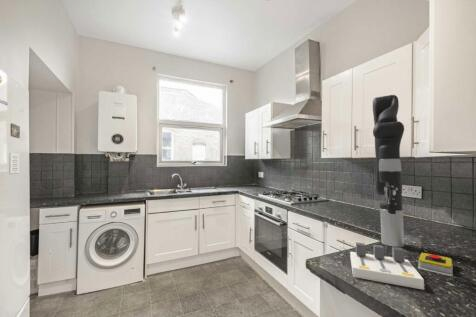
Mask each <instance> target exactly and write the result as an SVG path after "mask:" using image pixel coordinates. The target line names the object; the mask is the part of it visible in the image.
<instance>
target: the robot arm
mask: <svg viewBox="0 0 476 317" xmlns="http://www.w3.org/2000/svg"><path fill="white" fill-rule="evenodd" d="M399 103H400V102H399V98H398V96H397V95H395V94H389V95H383V96H377V97H374V98H373V100H372V114H373V123H374V124H373V125H374V126H373V130H372V134H373V137H374V153H375V165H376V166H375V190H376V193H377V195H379V196H384V197H385V201H383V202H380V205H379V210H380V211H379V214H380V238H381V241H380V242H381V244H382V245H385V246H390V247H398V248H403V247H405V239H404V238H405V237H404V236H405V234H404V215H403V214H404V212H403V211H404V210H403V197H402V196H403V182H402V181H403V179H402V178H403V176H402V163H401V151H400V150H401V148H400V147H401V142H402V138H403V136H404V132H405V126H404V124H403V123H402V122H401V121H398V117H397V116H398V113H399V108H400V106H399Z"/></svg>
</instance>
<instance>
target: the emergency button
mask: <svg viewBox="0 0 476 317" xmlns="http://www.w3.org/2000/svg"><path fill="white" fill-rule="evenodd" d="M417 268H418V269H420V270H423V271H427V272H432V273H435V274H439V275H444V276H448V277H453V275H454V274H453V273H454V272H453V270H454V265H453V260H452V258H451V257H447V256H443V255H442V256H441V255H436V254H431V253H426V252H421V253H420V255H419V258H418V265H417Z"/></svg>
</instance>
